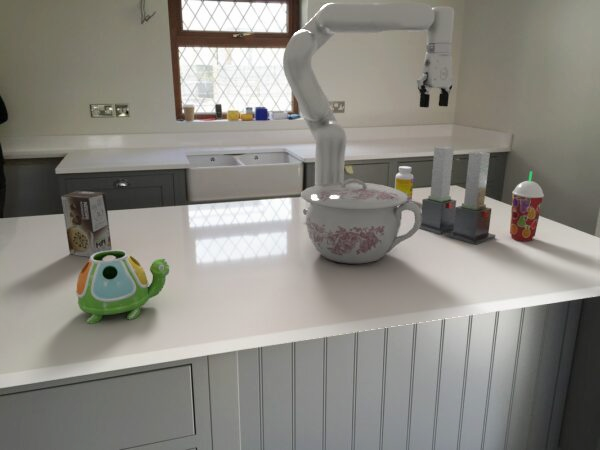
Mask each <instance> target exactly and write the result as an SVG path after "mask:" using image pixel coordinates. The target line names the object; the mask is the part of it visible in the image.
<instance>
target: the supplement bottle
mask: <svg viewBox="0 0 600 450" xmlns="http://www.w3.org/2000/svg"><path fill="white" fill-rule="evenodd" d="M412 169H413V168H412V167H411V166H407V165H402V166H398V172H397V173H396V175H395V180H394V181H395V182H394V189H397V190H400V191H402V192H404V193H405V194H406V195H407V196H408V200H407V202H406V203H408V202H410V201H412V200H413V192H414V191H413V189H414V187H413V186H414V175H413V174H412V173H411V172H412Z"/></svg>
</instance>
